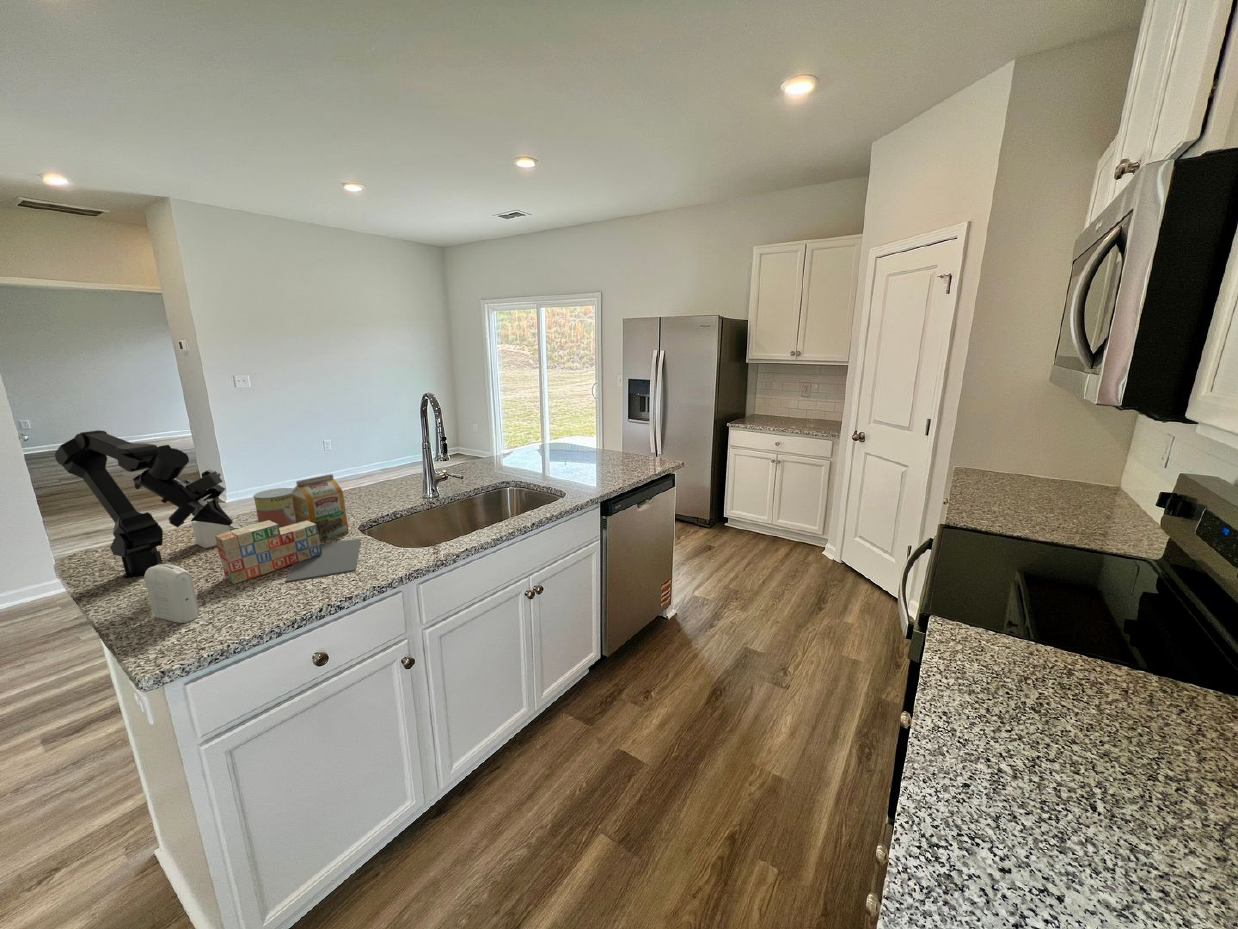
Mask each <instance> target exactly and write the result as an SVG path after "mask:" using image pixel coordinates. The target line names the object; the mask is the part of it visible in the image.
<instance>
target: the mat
mask: <svg viewBox="0 0 1238 929" xmlns="http://www.w3.org/2000/svg"><path fill="white" fill-rule="evenodd" d="M320 544H321V549H322V554H321V555H318V556H315V557H312V558H309V559H306V560H303V561H300V562H297V563H294V564H291V567H290V570H289V572H288V575H287V576H286V579H285V583H291V582H296V581H302V580H308V579H315V578H319V577H320V578H321V577H326V576H333V575H339V574H344V573H345V574H346V573H349V572H350V573H351V572H355V571H357V569H358V568H357V567H358V559H359V553H360V548H361V547H360V546H361V538H354V539H348V540H341V541H333V542H327V543H320Z"/></svg>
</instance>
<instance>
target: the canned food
mask: <svg viewBox="0 0 1238 929" xmlns="http://www.w3.org/2000/svg"><path fill="white" fill-rule="evenodd" d="M293 489H294V488H292V487H280V488H279V487H277V488H272V489H266V490H263V491H259V492H257V493H255V494H253V499H254V504H255V510H256V516H257V521H258V523H260V522H264V521H268V520H270V521H272V522H274V523H276V524H278V526H279V528H281V527H285V526H289V525H292V524H296V518H295V512H294V506H293V500H292V491H293Z"/></svg>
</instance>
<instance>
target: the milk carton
mask: <svg viewBox="0 0 1238 929" xmlns="http://www.w3.org/2000/svg"><path fill="white" fill-rule="evenodd" d="M292 489H293V491H292V500H293V506H294V512H295V518H296V524H297V523H300V522H303V521H310V522H312V523H314V524H316V525H317V530H318V534H319V538H320V543H321V542H323V541H328V540H331V539H333V538H334V539H335V538H337V537H340V536H344V535H347V534H349V532H350V531H349V525H348V519H347V518H348V517H347V510H346V505H345V503H346V502H345V498H344V491H343V489H342V487H341V486H340V484H339V483H338V481H336V480H335V478H334V475H333V473H330V474H325V475H321V476H315V477H310V478H305V479H301V480H300V479H299V480H296V486H294V488H292Z"/></svg>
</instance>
